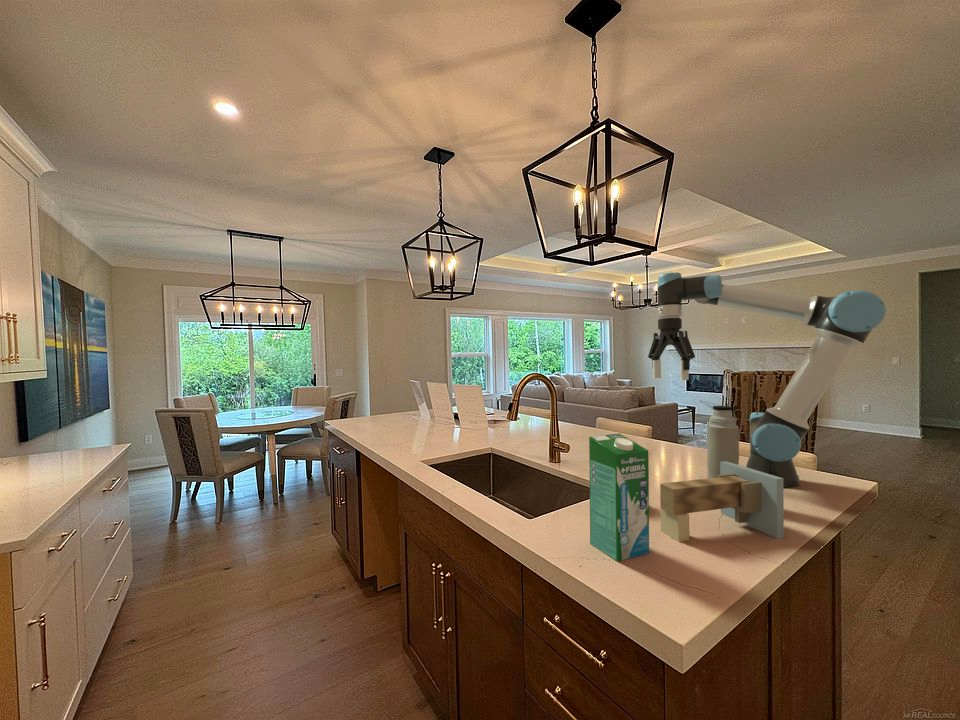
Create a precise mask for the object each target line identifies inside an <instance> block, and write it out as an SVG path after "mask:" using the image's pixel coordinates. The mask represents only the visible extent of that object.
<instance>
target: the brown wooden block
mask: <svg viewBox="0 0 960 720" xmlns="http://www.w3.org/2000/svg"><path fill="white" fill-rule="evenodd" d="M746 482H749V481H748V480H745V479H742V478H739V477H736V476H727V477H717V478H708V477H707V478H699V479H689V480H682V481H681V480H680V481H672V482H663V483H660V485H659V488H660V489H659V490H660V492H659V493H660V494H659V495H660V497H659V498H660V499H659V500H660V501H659V503H660V510H661V509H663V510H665V511H667V512H669V513H671V514H673V515H678V514H686V513H687V514H692V513H701V512H707V511H714V510H715V511H716V510H721V509H724V508H732V507H739V506H741V483H746Z"/></svg>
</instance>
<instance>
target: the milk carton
mask: <svg viewBox="0 0 960 720" xmlns="http://www.w3.org/2000/svg"><path fill="white" fill-rule="evenodd" d="M588 441H589V442H588V443H589V445H588V446H589V447H588V448H589V450H588V451H589V452H588V454H589V456H588V458H589V461H588V462H589V463H588V464H589V534H590V535H589V536H590V537H589V544H590V545H592V546H594V548H597V549H598V550H599V551H601V552H603V553H604V554H605V555H606V556H608V557H610V558H611V559H613V560H615V561H616V562H621V561H624V560H629V559H632V558H635V557H638V556H643V555H645V554H649V553H650V498H649V497H650V491H649V490H650V488H649V487H650V484H649V483H650V482H649V480H650V479H649V478H650V477H649V474H650V473H649V469H650V468H649V467H650V465H649V462H650V461H649V458H650V457H649V449H647V448H645V447H644V446H642V445H640V444H639V443H636V442H635V441H633V440H632V439H630V438H628V437H626V436H625V435H623V434H621V433H611V434H603V435H601V434H600V435H591V436H589V437H588Z"/></svg>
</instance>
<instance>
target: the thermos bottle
mask: <svg viewBox="0 0 960 720" xmlns="http://www.w3.org/2000/svg"><path fill="white" fill-rule="evenodd" d="M712 410H713V411H712V415H711V416H710V417H709V420H708V421H709V423H707V424H706V435H707V436H706V439H707V441H706V442H707V443H706V445H707V446H706V447H707V451H706V452H707V457H706V459H707V460H706V461H707V479H708V478H717V475H720V462H724V461H727V462H730V463H734V464H737V465H740V462H739V461H740V429H739V427H740V426H739V425H737V422H738V421H737V419H736V418H735V417H734V416H733V407H732V406H728V405H714V406H712Z"/></svg>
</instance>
